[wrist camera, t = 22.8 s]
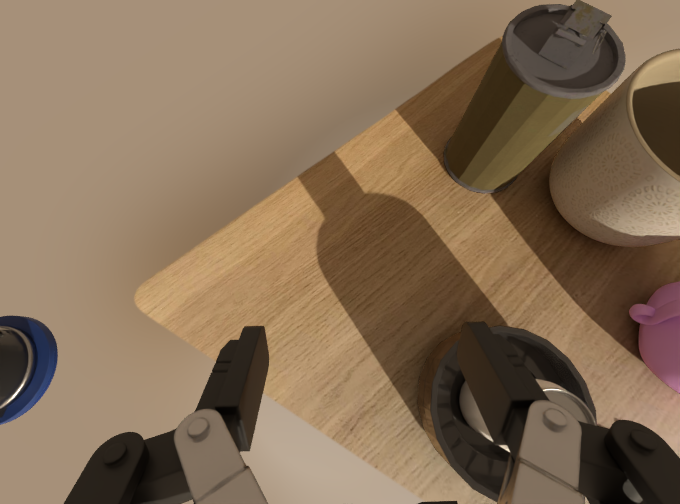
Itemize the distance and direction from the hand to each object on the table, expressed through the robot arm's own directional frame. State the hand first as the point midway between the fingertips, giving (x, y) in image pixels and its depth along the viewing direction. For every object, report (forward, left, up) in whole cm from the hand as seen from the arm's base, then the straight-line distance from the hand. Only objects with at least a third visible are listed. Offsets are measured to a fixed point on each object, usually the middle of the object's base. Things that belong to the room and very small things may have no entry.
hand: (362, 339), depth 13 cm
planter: (+23, -30, -25) cm, 46 cm away
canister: (+27, -15, -25) cm, 40 cm away
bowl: (-3, -16, -25) cm, 30 cm away
